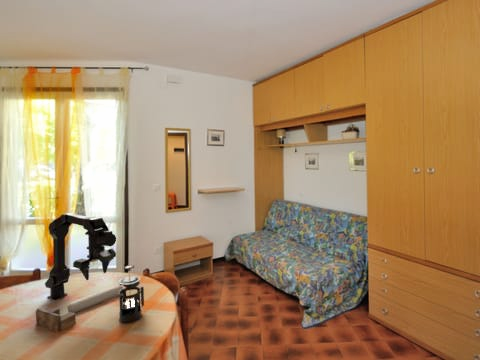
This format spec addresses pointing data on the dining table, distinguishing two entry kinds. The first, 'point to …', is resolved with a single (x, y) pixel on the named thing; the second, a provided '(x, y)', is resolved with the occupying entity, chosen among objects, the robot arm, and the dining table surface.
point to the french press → (130, 304)
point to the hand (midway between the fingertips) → (96, 276)
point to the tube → (94, 299)
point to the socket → (54, 319)
